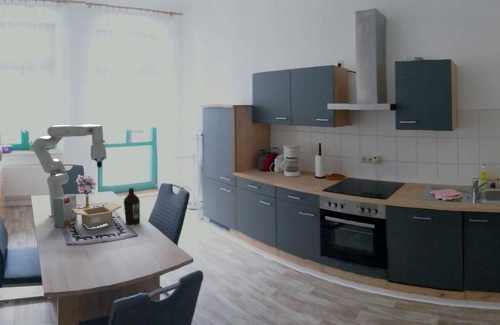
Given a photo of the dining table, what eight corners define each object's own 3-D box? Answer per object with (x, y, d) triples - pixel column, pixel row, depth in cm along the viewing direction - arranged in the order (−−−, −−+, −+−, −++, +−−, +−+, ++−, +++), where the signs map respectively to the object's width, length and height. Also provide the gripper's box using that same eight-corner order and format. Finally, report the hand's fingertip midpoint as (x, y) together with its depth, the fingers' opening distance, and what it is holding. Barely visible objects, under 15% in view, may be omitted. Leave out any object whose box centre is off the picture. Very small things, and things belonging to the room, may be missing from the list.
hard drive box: (64, 228, 273) (61, 199, 270) (54, 227, 274) (51, 198, 271) (78, 221, 288) (76, 194, 285) (68, 220, 289) (66, 193, 286)
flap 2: (113, 201, 293) (114, 202, 293) (104, 205, 290) (105, 206, 290) (121, 206, 280) (121, 206, 280) (111, 210, 276) (112, 211, 276)
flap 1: (81, 209, 280) (80, 210, 280) (70, 207, 276) (70, 208, 276) (87, 214, 267) (87, 215, 267) (76, 212, 263) (76, 214, 263)
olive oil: (121, 224, 280) (119, 189, 276) (132, 220, 289) (130, 186, 286) (133, 226, 275) (131, 190, 272) (143, 222, 285) (142, 187, 281)
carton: (81, 223, 283) (80, 209, 282) (105, 219, 292) (104, 206, 291) (88, 230, 267) (87, 215, 266) (113, 225, 277) (112, 211, 275)
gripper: (106, 141, 299) (108, 165, 302) (85, 142, 291) (87, 167, 294) (109, 142, 293) (111, 166, 296) (88, 143, 285) (90, 168, 288)
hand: (99, 167), depth 295 cm, fingers closed
